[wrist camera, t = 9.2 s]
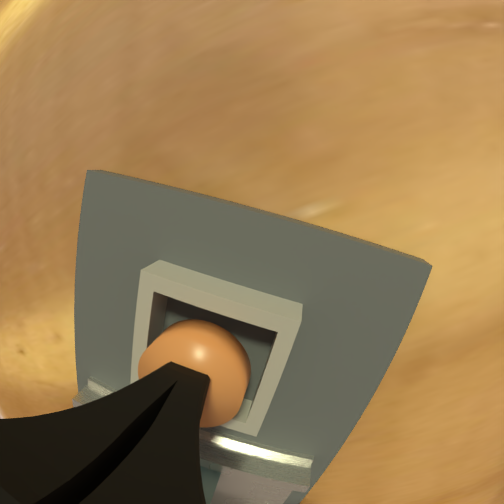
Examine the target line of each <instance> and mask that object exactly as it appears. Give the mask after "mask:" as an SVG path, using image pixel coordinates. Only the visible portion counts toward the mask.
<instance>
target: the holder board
mask: <svg viewBox="0 0 504 504" xmlns="http://www.w3.org/2000/svg"><path fill="white" fill-rule="evenodd" d="M158 260H162V261H165V262H168V263H172V264H175V265H178V266H181V267H184V268H187V269H190V270H193V271H196V272H199V273H202V274H206V275H209V276H212V277H215V278H218V279H221V280H225V281H228V282H231V283H234V284H238V285H241V286H244V287H247V288H251V289H254V290H257V291H261V292H264V293H267V294H271V295H274V296H277V297H281V298H284V299H287V300H291V301H294V302H298V303H301V304H303V307H302V321H301V324H300V327H299V330H298V332H297V335H296V338H295V341H294V343H293V346H292V349H291V352H290V354H289V357H288V360H287V362H286V365H285V368H284V370H283V373H282V375H281V378H280V380H279V383H278V386H277V388H276V391H275V393H274V396H273V398H272V401H271V403H270V406H269V408H268V410H267V413H266V415H265V418H264V420H263V422H262V425H261V427H260V430H259V432H258V434H257V437H256V436H252V435H249V434H245V433H242V432H238V431H235V430H232V429H229V428H226V427H223V426H215V427H208V428H211V429H214V430H217V431H220V432H223V433H226V434H229V435H233V436H236V437H239V438H242V439H246V440H249V441H253V442H257V443H260V444H264V445H268V446H272V447H276V448H280V449H284V450H288V451H293V452H297V453H302V454H307V455H312V456H314V461H313V462H312V464H311V475H310V487H309V488H308V490H307V491H306V492H305V493H304V492H298V491H292V492H291V494H290V495H289V496H288V498H287V499H286V500H285V502H284V503H283V504H299V503H300V502H301V501H302V499H303V498H304V497H305V496H306V494H307V493H308V492H309V491H310V489H311V488H312V487H313V485H314V484H315V483H316V482H317V480H318V479H319V478H320V476H321V475H322V474H323V472H324V471H325V469H326V468H327V467H328V465H329V464H330V463H331V461H332V460H333V458H334V457H335V455H336V454H337V453H338V451H339V450H340V448H341V447H342V445H343V444H344V442H345V441H346V439H347V438H348V436H349V434H350V433H351V431H352V430H353V428H354V427H355V425H356V423H357V422H358V420H359V419H360V417H361V415H362V414H363V412H364V410H365V409H366V407H367V405H368V404H369V402H370V400H371V398H372V397H373V395H374V393H375V391H376V389H377V388H378V386H379V384H380V382H381V380H382V378H383V377H384V375H385V373H386V371H387V369H388V367H389V365H390V363H391V361H392V359H393V357H394V355H395V353H396V351H397V349H398V347H399V345H400V343H401V341H402V339H403V336H404V334H405V332H406V330H407V328H408V326H409V323H410V321H411V319H412V316H413V314H414V312H415V309H416V307H417V305H418V302H419V300H420V297H421V295H422V292H423V290H424V287H425V285H426V282H427V279H428V277H429V274H430V271H431V269H432V265H430V264H429V263H428V262H426V261H425V260H423V259H420V258H417V257H415V256H412V255H409V254H405V253H402V252H399V251H396V250H393V249H390V248H387V247H384V246H381V245H378V244H375V243H371V242H368V241H365V240H362V239H359V238H356V237H352V236H349V235H346V234H343V233H339V232H336V231H333V230H329V229H326V228H323V227H319V226H316V225H313V224H309V223H306V222H302V221H299V220H295V219H292V218H289V217H285V216H281V215H278V214H274V213H271V212H267V211H264V210H260V209H256V208H253V207H249V206H245V205H242V204H238V203H234V202H231V201H227V200H223V199H219V198H215V197H211V196H208V195H204V194H200V193H196V192H192V191H188V190H184V189H180V188H176V187H172V186H168V185H164V184H159V183H155V182H151V181H147V180H143V179H138V178H134V177H130V176H125V175H121V174H116V173H112V172H107V171H103V170H87V173H86V179H85V185H84V192H83V199H82V206H81V214H80V223H79V232H78V243H77V256H76V272H75V306H74V320H75V354H76V370H77V382H78V393H79V392H80V391H81V390H82V389H83V388H84V387H85V386H86V385H87V384H88V378H89V377H90V376H91V377H93V378H95V379H97V380H99V381H101V382H103V383H105V384H107V385H108V386H110V387H112V388H114V389H117V390H120V389H122V388H124V387H126V386H128V385H130V381H131V363H132V348H133V336H134V325H135V315H136V305H137V296H138V288H139V280H140V273H141V270H142V269H143V268H145V267H147V266H149V265H151V264H153V263H154V262H156V261H158ZM189 319H198V320H204V321H208V322H211V323H214V324H216V325H218V326H220V327H222V328H224V329H226V330H227V331H228V332H230V333H231V334H232V335H233V336H235V337H236V338H237V339H238V341H239V342H240V343H241V344H242V346H243V347H244V349H245V350H246V352H247V354H248V357H249V360H250V364H251V376H250V380H249V383H248V386H247V389H246V392H245V395H244V399H247V400H251V401H252V400H253V398H254V395H255V392H256V389H257V386H258V384H259V381H260V378H261V375H262V372H263V369H264V366H265V364H266V361H267V358H268V355H269V352H270V349H271V346H272V343H273V340H274V337H275V334H276V331H272V330H269V329H266V328H262V327H259V326H256V325H252V324H249V323H246V322H243V321H240V320H236V319H233V318H230V317H227V316H224V315H221V314H218V313H215V312H212V311H209V310H206V309H203V308H200V307H197V306H194V305H191V304H188V303H185V302H182V301H180V300H177V299H174V298H171V297H168V299H167V306H166V312H165V319H164V325H163V331H164V330H165V329H166V328H167V327H169V326H170V325H172V324H173V323H176V322H178V321H182V320H189Z"/></svg>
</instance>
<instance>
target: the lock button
mask: <svg viewBox="0 0 504 504" xmlns="http://www.w3.org/2000/svg"><path fill="white" fill-rule="evenodd" d="M171 361H172V362H174V363H177V364H179V365H182V366H185V367H187V368H190V369H193V370H195V371H198V372H201V373H204V374H207V375H208V376H209V377H210V383H209V387H208V391H207V396H206V400H205V404H204V408H203V412H202V416H201V419H200V427H204V428H207V427H215V426H219V425H222V424H224V423H226V422H228V421H230V420H231V419H232V418H233V417H234V416H235V415H236V414H237V413H238V411H239V409H240V407H241V404H242V401H243V398H244V395H245V392H246V389H247V386H248V383H249V380H250V376H251V364H250V360H249V357H248V354H247V352H246V350H245V349H244V347H243V346H242V344H241V343H240V342H239V341H238V339H237V338H236V337H235V336H233V335H232V334H231V333H230V332H228V331H227V330H226V329H224V328H222V327H220V326H218V325H216V324H214V323H211V322H208V321H204V320H198V319H189V320H182V321H178V322H176V323H173V324H172V325H170V326H169V327H167V328H166V329H165V330H164V331H163V332H162V333H161V334H160V335H159V336H158V337H157V338H156V339H155V340H154V341H153V343H152V344H151V345H150V346H149V347H148V348H147V349H146V350H145V351H144V352H143V354H142V356H141V357H140V360H139V364H138V377H139V379H141V378H143V377H144V376H146V375H148V374H150V373H151V372H153V371H155V370H156V369H158V368H160V367H161V366H163V365H165V364H166V363H168V362H171Z"/></svg>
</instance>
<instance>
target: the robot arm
mask: <svg viewBox="0 0 504 504" xmlns="http://www.w3.org/2000/svg"><path fill="white" fill-rule="evenodd" d="M209 383H210V377H209V376H208V375H207V374H204V373H201V372H198V371H195V370H193V369H190V368H187V367H185V366H182V365H179V364H177V363H174V362H172V361H171V362H168V363H166V364H165V365H163V366H161V367H160V368H158V369H156V370H155V371H153V372H151V373H150V374H148V375H146V376H144V377H143V378H141V379H139V380H137V381H135V382H133V383H131V384H130V385H128V386H126V387H124V388H122V389H120V390H118V391H115V392H113V393H111V394H109V395H106V396H104V397H102V398H99V399H97V400H94V401H92V402H89V403H86V404H83V405H80V406H77V407H74V408H70V409H67V410H63V411H59V412H54V413H49V414H44V415H39V416H33V417H23V418H11V419H0V504H206V501H205V496H204V491H203V484H202V477H201V467H200V452H199V429H200V419H201V416H202V412H203V408H204V404H205V400H206V396H207V391H208V387H209Z"/></svg>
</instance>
